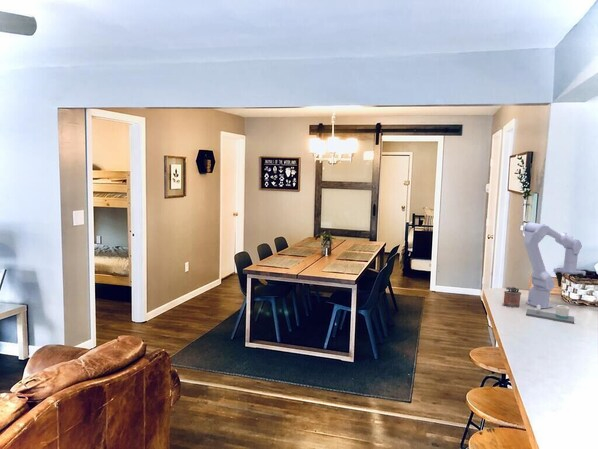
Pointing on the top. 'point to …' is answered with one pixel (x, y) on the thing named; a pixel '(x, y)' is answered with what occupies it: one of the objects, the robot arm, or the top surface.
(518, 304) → the lighter
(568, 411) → the top surface
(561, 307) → the sleeve
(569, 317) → the pin board
